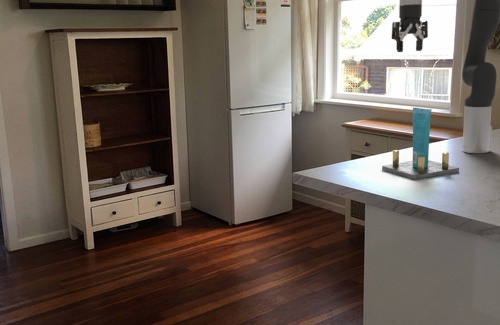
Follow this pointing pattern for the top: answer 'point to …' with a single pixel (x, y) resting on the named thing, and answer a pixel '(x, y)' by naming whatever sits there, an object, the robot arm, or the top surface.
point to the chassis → (420, 167)
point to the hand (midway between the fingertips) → (409, 51)
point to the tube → (421, 134)
